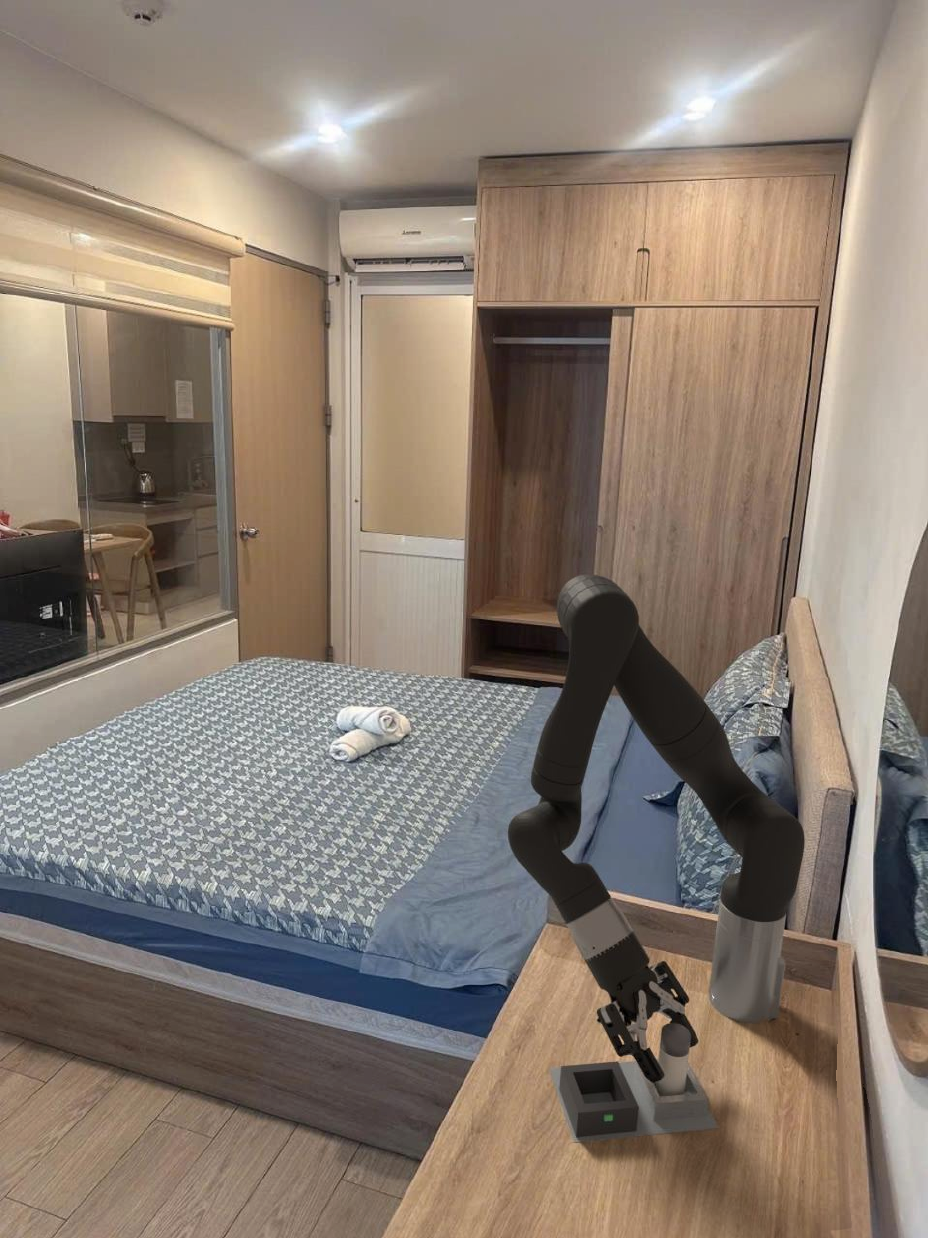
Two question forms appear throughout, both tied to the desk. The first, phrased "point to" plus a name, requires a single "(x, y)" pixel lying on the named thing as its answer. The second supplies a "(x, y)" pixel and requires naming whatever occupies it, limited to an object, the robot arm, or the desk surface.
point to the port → (598, 1115)
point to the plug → (673, 1059)
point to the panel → (644, 1117)
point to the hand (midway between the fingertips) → (676, 1062)
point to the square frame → (673, 1098)
